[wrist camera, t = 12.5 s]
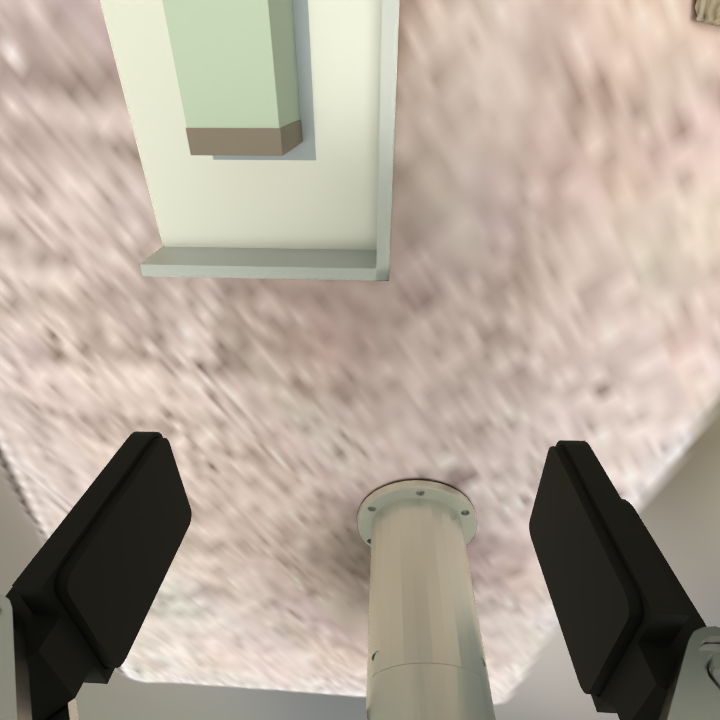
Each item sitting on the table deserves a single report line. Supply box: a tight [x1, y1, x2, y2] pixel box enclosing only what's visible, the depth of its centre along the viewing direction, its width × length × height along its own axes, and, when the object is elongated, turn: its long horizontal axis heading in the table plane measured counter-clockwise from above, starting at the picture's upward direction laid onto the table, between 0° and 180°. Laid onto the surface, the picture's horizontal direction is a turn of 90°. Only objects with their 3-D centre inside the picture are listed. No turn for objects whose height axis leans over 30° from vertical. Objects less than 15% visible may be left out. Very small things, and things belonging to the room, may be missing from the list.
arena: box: [100, 0, 400, 281], centre depth 23 cm, size 22×16×4 cm
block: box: [162, 0, 303, 156], centre depth 22 cm, size 5×7×6 cm, turn 0°
